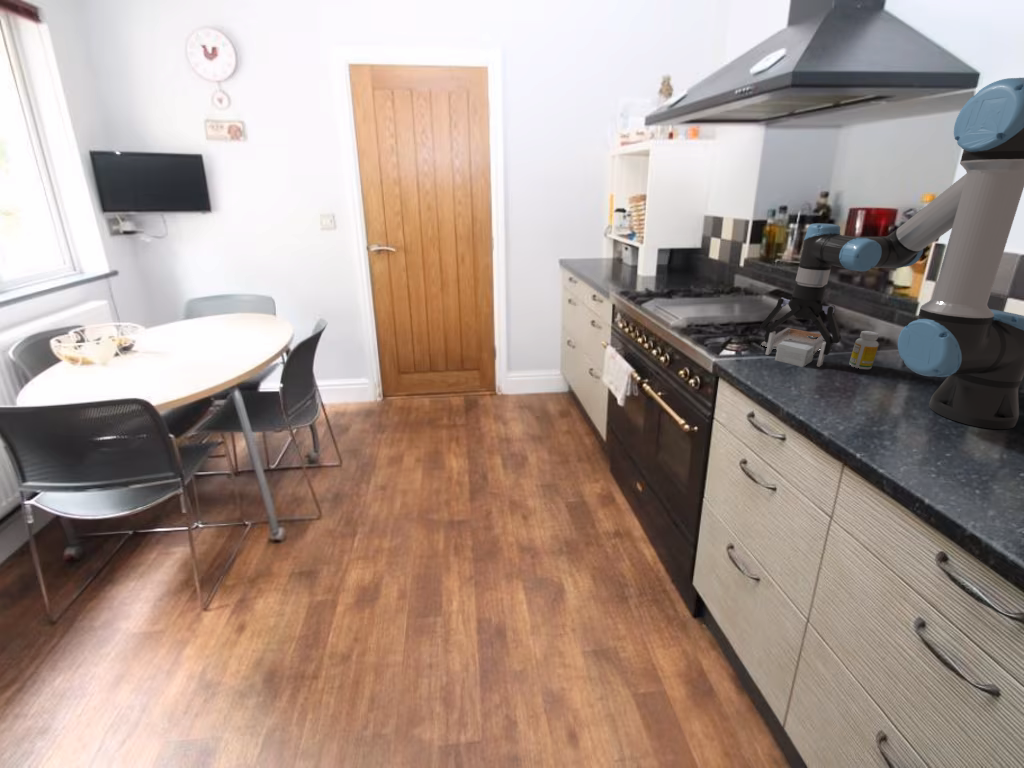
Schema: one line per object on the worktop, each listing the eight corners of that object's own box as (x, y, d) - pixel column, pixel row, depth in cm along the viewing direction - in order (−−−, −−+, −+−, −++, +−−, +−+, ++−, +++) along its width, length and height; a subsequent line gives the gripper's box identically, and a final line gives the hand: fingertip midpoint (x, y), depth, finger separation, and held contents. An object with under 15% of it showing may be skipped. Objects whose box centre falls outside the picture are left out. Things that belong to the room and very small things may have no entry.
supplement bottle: (845, 365, 148) (854, 332, 144) (853, 361, 151) (862, 328, 148) (867, 371, 144) (877, 336, 141) (874, 367, 147) (884, 333, 144)
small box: (803, 367, 146) (808, 349, 144) (773, 360, 151) (777, 343, 149) (812, 361, 151) (817, 344, 149) (783, 354, 156) (787, 337, 154)
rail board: (810, 357, 154) (812, 349, 153) (760, 346, 162) (762, 339, 161) (828, 343, 168) (830, 335, 167) (781, 333, 176) (783, 326, 175)
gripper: (867, 289, 138) (846, 367, 146) (767, 275, 154) (752, 346, 162) (860, 293, 133) (839, 374, 141) (757, 279, 148) (743, 352, 156)
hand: (793, 359), depth 151 cm, fingers open, 13 cm apart
